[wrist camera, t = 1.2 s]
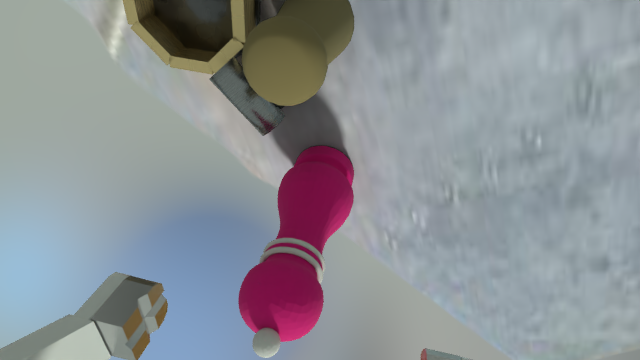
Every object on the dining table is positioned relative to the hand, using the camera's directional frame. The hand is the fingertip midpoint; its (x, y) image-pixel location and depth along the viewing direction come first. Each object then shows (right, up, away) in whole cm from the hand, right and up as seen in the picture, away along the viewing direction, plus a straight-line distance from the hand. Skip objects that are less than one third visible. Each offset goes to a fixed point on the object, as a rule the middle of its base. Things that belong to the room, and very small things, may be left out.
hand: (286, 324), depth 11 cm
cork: (+1, +17, +18) cm, 25 cm away
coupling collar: (-9, +19, +19) cm, 28 cm away
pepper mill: (+2, +6, +27) cm, 28 cm away
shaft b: (-4, +14, +22) cm, 26 cm away
